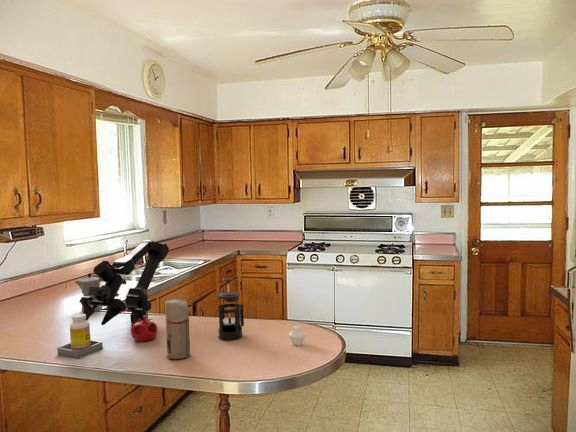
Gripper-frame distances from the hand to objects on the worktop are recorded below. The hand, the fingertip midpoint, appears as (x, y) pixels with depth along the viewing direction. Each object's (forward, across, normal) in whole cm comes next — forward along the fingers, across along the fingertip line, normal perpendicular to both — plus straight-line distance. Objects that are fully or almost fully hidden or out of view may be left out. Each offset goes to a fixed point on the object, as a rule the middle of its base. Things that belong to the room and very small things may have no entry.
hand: (92, 323), depth 179 cm
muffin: (-10, +74, +22) cm, 78 cm away
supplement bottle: (+10, 0, +1) cm, 10 cm away
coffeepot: (-22, -38, +34) cm, 56 cm away
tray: (+11, 0, +1) cm, 11 cm away
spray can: (+6, +38, +6) cm, 39 cm away
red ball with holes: (-2, +14, +14) cm, 20 cm away
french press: (-10, +46, +23) cm, 53 cm away
